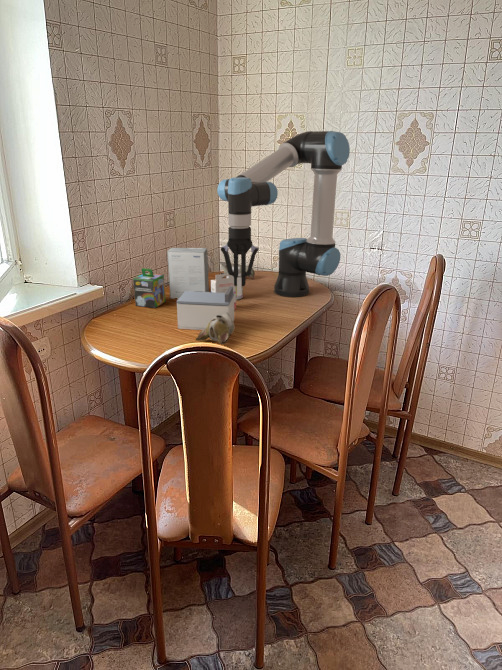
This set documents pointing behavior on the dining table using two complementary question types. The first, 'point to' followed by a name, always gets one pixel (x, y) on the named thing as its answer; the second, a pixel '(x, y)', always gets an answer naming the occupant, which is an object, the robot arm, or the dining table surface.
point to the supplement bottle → (236, 286)
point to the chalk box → (149, 289)
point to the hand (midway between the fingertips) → (239, 294)
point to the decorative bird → (238, 266)
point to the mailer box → (201, 314)
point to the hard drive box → (187, 270)
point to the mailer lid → (207, 297)
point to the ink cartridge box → (223, 285)
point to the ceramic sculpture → (218, 329)
